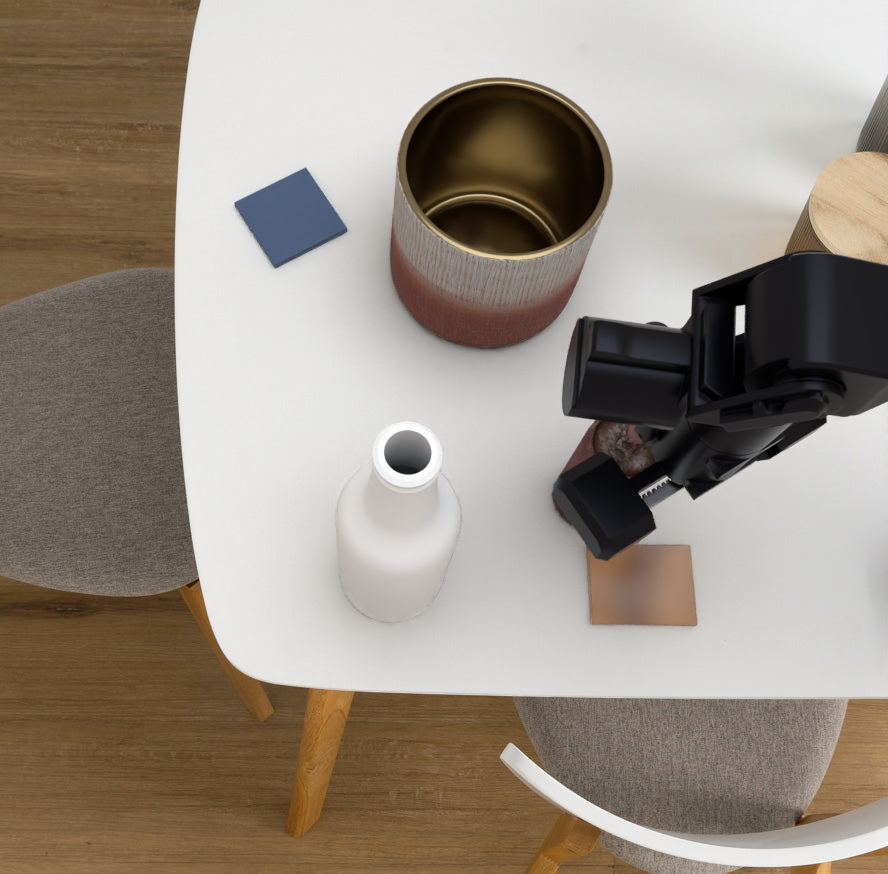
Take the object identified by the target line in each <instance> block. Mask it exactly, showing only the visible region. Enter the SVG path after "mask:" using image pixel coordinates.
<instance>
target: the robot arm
mask: <svg viewBox="0 0 888 874" xmlns="http://www.w3.org/2000/svg"><path fill="white" fill-rule="evenodd" d="M741 306H744V325H743V326H744V327H743V328H744V329H743V331H744V332H742V333H738V334H736V333H737V331H736V330H737V307H741ZM569 341H570V342H569V345H568V349H567V354H566V359H565V364H564V370H563V371H564V372H563V379H562V387H561V388H562V389H561V392H562V393H561V409H562V414H563V415H564V417H571V418H577V419H585V420H592V421H595V420H598V421H605V422H613V423H620V424H627V425H634V426H635V428H634V431H635V432H636V434H637V435H638V436H639V438H640V439H641V440H642V442H643V443H644V444H646V443H648V442H650V441H651V442H652V444H653V448H652V449H653V454H654V458H655V460H656V463H654V464H653V465H651V466H649V467H648V468H646V469H644V470H643V471H641V472H640V473H638V474H636V475H635V476H633V477H631V478H630V479H628V478H627V476H626V475H625V474H624V472H623V471H622V470H621V468H620V467H619V465H618V464H617V463H616V461H615V460H614V458H613V457H612V456H610V455H608V454H606V453H604V452H603V451H599V452H598V453H596V454H594V455H593V456H591V457H589V458H588V459H586V460H584V461H583V462H581V463H579V464H578V465H576V466H574V467H573V468H571V469H569V470H568V471H566V472H564V473H563V474H561V473H560V474H561V475H560V474H559V475H558V477H557V478H556V480H555V481H554V483H553V486H552V492H551V497H552V499H553V498H554V499H555V501H556V502H557V504H558V505H559V507H560V508H561V509H562V511H563V512H564V514H565V515H566V517H567V518H568V520H569V521H570V522H571V524H572V525H573V526H572V525H571V526H572V527H573V528H574V530H575V531H576V533H577V534H578V536H579V537H580V538H581V540H582V541H583V543H584V544H585V546H586V548H587V547H588V549H589V550H590V551H591V553H592V554H593V556H594V557H595V559H600V560H604V561H609V560H610V559H612V558H613V557H615V556H617V555H618V554H620V553H621V552H623V551H625V550H626V549H628V548H629V547H631V546H633V545H637V544H638V543H639V542H640V541H642V540H643V539H646V538H647V537H648V536H649V535H650V534H652V533H653V532H654V531H655V530H657V525H656V521H655V517H654V513H653V511H652V510H651V509H653V508H654V507H656V506H657V505H659V504H661V503H662V502H664V501H666V500H667V499H669V498H670V497H672V496H674V495H675V494H676V493H678V492H680V491H682V490H683V489H685V490H686V492H687V493H688V495H689V496H690V497H691V498H692V500H693V501H695V500H697V499H698V498H701V497H702V496H703V495H705V494H707V493H708V492H710V491H711V490H713V489H715V488H716V487H718V486H719V485H721V484H723V483H724V482H727V481H728V480H730V479H731V478H732V477H734V476H736V475H738V474H739V473H740V472H742V471H743V470H746V469H747V468H749V467H750V466H752V465H753V464H754V463H756V462H761V461H768V460H771V459H773V458H774V457H776V456H777V455H779V454H781V453H783V452H785V451H787V450H788V449H790V448H792V447H794V446H795V445H796V444H798V443H800V442H801V441H803V440H804V439H806V438H808V437H809V436H811V435H812V434H814V433H815V432H817V431H818V430H819V429H821V428H822V427H823V426H825V424H827V423H828V416H833V417H839V418H848V417H853V416H859V415H862V414H863V413H866V412H868V411H871V410H872V409H875V408H877V407H879V406H882V405H884V404H886V403H888V264H887V263H882V262H878V261H877V262H876V261H872V260H867V259H862V258H859V257H858V258H857V257H853V256H849V255H843V254H837V253H833V252H829V251H825V250H817V249H806V250H798V251H795V252H791V253H787V254H784V255H781V256H779V257H777V258H774V259H771V260H768V261H766V262H763V263H760V264H758V265H754V266H752V267H749V268H746V269H744V270H741V271H738V272H735V273H733V274H731V275H728V276H725V277H722V278H719V279H717V280H715V281H712V282H708V283H706V284H704V285H701V286H699V287H695V288H693V289H692V291H691V308H690V316H689V318H688V319H687V321H686V322H685V324H684V325H683V326H682V327H680V328H677V327H670V326H668V325H667V324H665V323H663V322H661V321H656V320H655V321H649V322H646V323H641V322H634V321H627V320H620V319H619V320H618V319H611V318H605V317H598V316H590V315H584V316H583V317H578V318H577V320H576V322H575V325H574V327H573V330H572V334H571V337H570V340H569ZM666 478H667V479H666ZM664 479H666V480H665V481H663V482H661V483H660V484H657V483H659V482H660V481H662V480H664ZM656 484H657V486H656V487H653V488H652V489H651V491H650V490H648V491H647V492H646V493H643V492H644V491H646V490H647V489H648V488H649V489H650V487H652V486H654V485H656ZM641 493H643V494H642V495H641Z"/></svg>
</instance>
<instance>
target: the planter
mask: <svg viewBox="0 0 888 874" xmlns="http://www.w3.org/2000/svg"><path fill="white" fill-rule="evenodd" d="M398 145H399V146H398V149H397V156H396V167H395V169H396V170H395V183H394V194H393V195H394V196H393V207H392V217H391V218H392V220H391V231H390V243H389V264H390V265H389V266H390V274H391V278H392V282H393V285H394V286H393V287H394V289H395V290H396V293H397V295H398V298H399V299H400V301H401V302H402V304H403V305H404V307H405V308H406V310H407V311H408V312H409V313H410V315H411V316H412V317H413V318H414V319H415V320H416V321H417V322H418V323H419V324H421V325H422V326H423V327H424V328H426V329H427V330H429V331H430V332H432V333H434V334H435V335H437V336H438V337H441V338H443V339H445V340H448V341H450V342H452V343H456V344H460V345H463V346H468V347H474V348H500V347H501V348H502V347H505V346H510V345H515V344H518V343H521V342H524V341H526V340H528V339H531V338H532V337H534V336H536V335H538V334H539V333H541V332H542V331H544V330H545V329H547V328H548V327H549V326H551V324H553V322H554V321H556V320H557V319H558V317H559V316H561V313H562V312H563V311H564V309H565V307H566V306H567V304H568V303H569V301H570V300H571V297H572V295H573V293H574V291H575V289H576V286H577V284H578V281H579V279H580V277H581V274H582V271H583V268H584V266H585V263H586V260H587V258H588V255H589V253H590V250H591V247H592V246H593V245H592V244H593V242H594V239H595V237H596V235H597V233H598V229H599V228H600V225H601V222H602V220H603V217H604V216H605V212H606V210H607V207H608V205H609V202H610V198H611V196H612V191H613V186H614V165H613V160H612V155H611V151H610V148H609V145H608V143H607V140H606V137H605V136H604V135H603V132H602V131H601V129H600V128H599V126H598V125H597V124H596V122H595V121H594V120H593V118H592V117H591V116H590V115H589V114H588V113H587V111H585V110H584V108H582V107H581V106H580V105H579V104H577V102H575V101H574V100H573V99H571V98H569V97H568V96H566V95H564V94H563V93H561V92H559V91H557V90H555V89H553V88H551V87H549V86H547V85H544V84H542V83H538V82H534V81H531V80H528V79H527V80H526V79H522V78H515V77H506V76H505V77H501V76H497V77H483V78H477V79H476V78H475V79H472V80H468V81H464V82H461V83H457V84H455V85H452V86H451V87H448V88H446V89H444V90H442V91H441V92H439V93H437V94H436V95H434V96H433V97H432V98H430V99H429V100H427V102H425V103H424V104H423V105H422V106H421V107H420V108H419V109H418V110H417V111H416V113H414V115H413V116H412V118H411V119H410V121H409V122H408V124H407V126H406V127H405V129H404V132H403V134H402V136H401V139H400V142H399V144H398Z"/></svg>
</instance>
